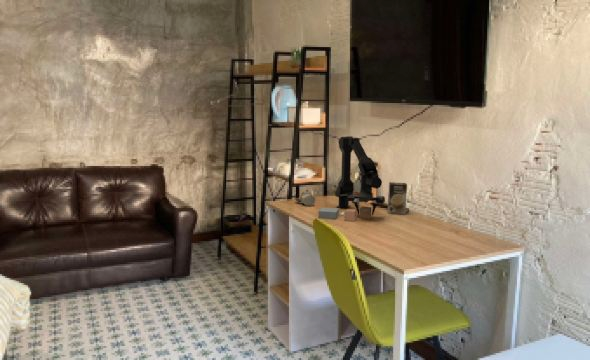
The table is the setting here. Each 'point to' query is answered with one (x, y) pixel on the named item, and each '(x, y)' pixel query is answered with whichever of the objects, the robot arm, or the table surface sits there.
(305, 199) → the ceramic sculpture
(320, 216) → the grey block
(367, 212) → the walnut cube
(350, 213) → the terracotta cube
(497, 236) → the table surface
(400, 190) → the coffee box
